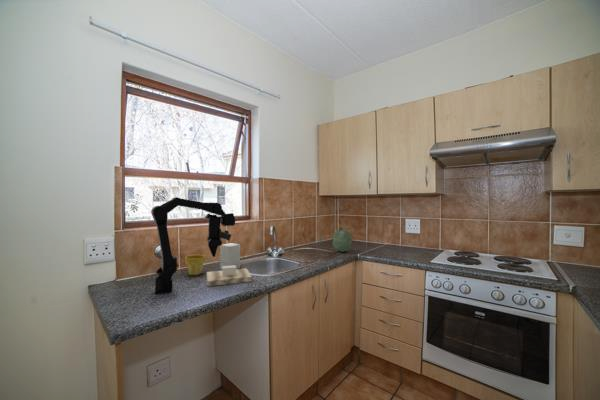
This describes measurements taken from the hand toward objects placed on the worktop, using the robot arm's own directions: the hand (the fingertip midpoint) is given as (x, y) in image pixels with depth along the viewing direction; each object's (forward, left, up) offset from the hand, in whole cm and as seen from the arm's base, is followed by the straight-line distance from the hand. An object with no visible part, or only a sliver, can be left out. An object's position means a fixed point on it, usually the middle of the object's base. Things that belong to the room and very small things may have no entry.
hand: (213, 256), depth 125 cm
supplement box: (+11, +22, -13) cm, 28 cm away
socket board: (+8, +2, -13) cm, 15 cm away
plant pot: (-9, +18, -13) cm, 24 cm away
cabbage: (+105, +42, -13) cm, 114 cm away
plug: (+8, +2, -13) cm, 15 cm away
